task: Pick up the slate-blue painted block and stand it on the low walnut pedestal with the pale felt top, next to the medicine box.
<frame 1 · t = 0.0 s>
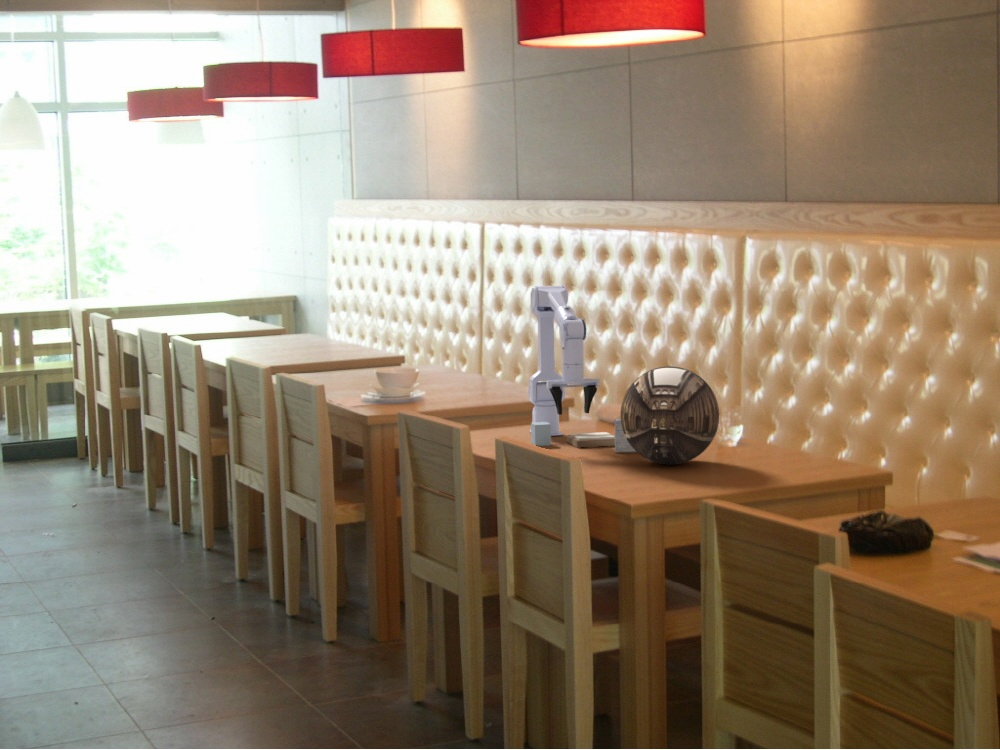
hand: (573, 413, 352), 10 cm above the table, tool pointing down, fingers open, 7 cm apart
medicine box: (629, 452, 350), on the table
block: (541, 444, 363), on the table
sphere: (669, 464, 332), on the table
pedestal: (593, 444, 362), on the table
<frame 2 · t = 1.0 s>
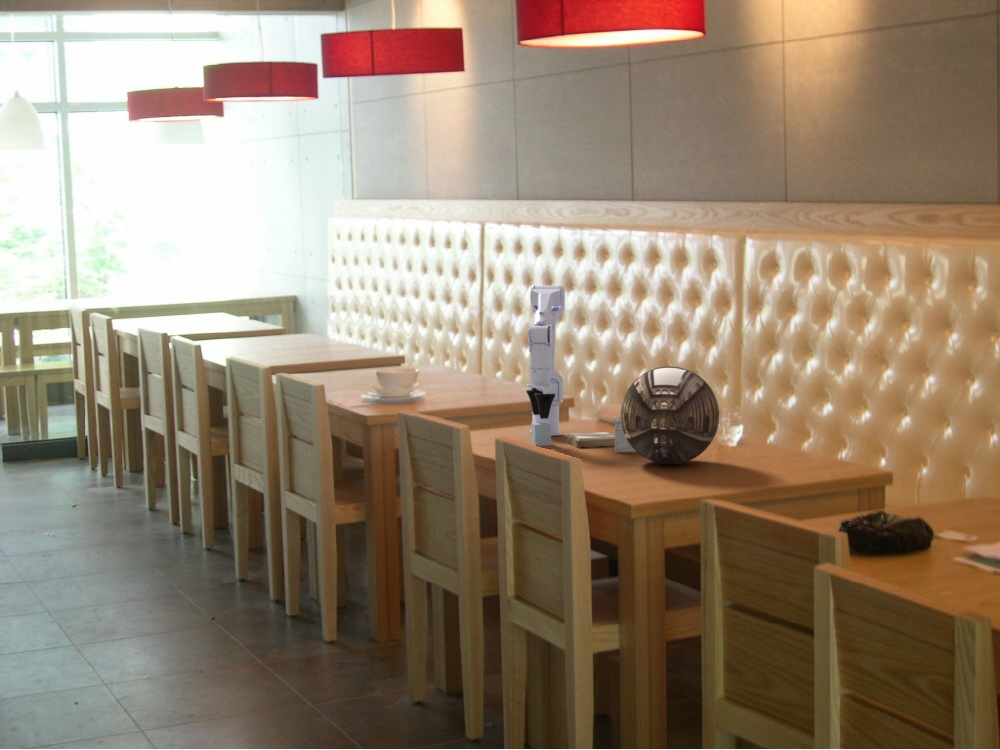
hand: (540, 416, 362), 8 cm above the table, tool pointing down, fingers open, 7 cm apart
nothing on the table moved.
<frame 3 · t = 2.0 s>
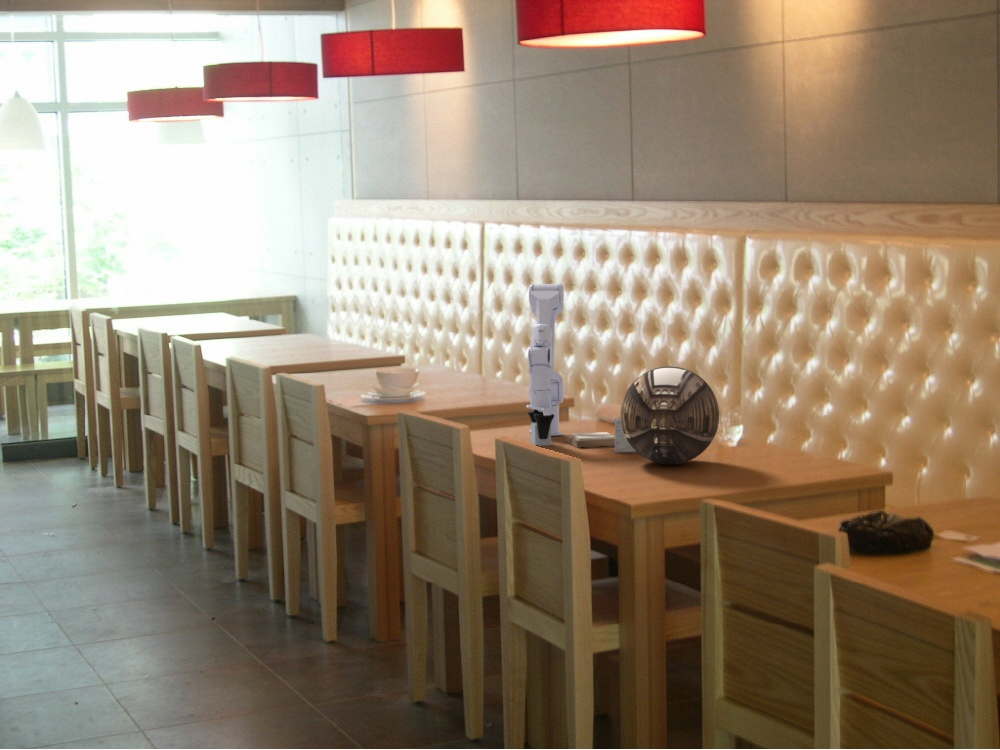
hand: (540, 437, 363), 2 cm above the table, tool pointing down, fingers closed on block, 4 cm apart
block: (541, 444, 363), on the table, touching gripper
everything else where it was.
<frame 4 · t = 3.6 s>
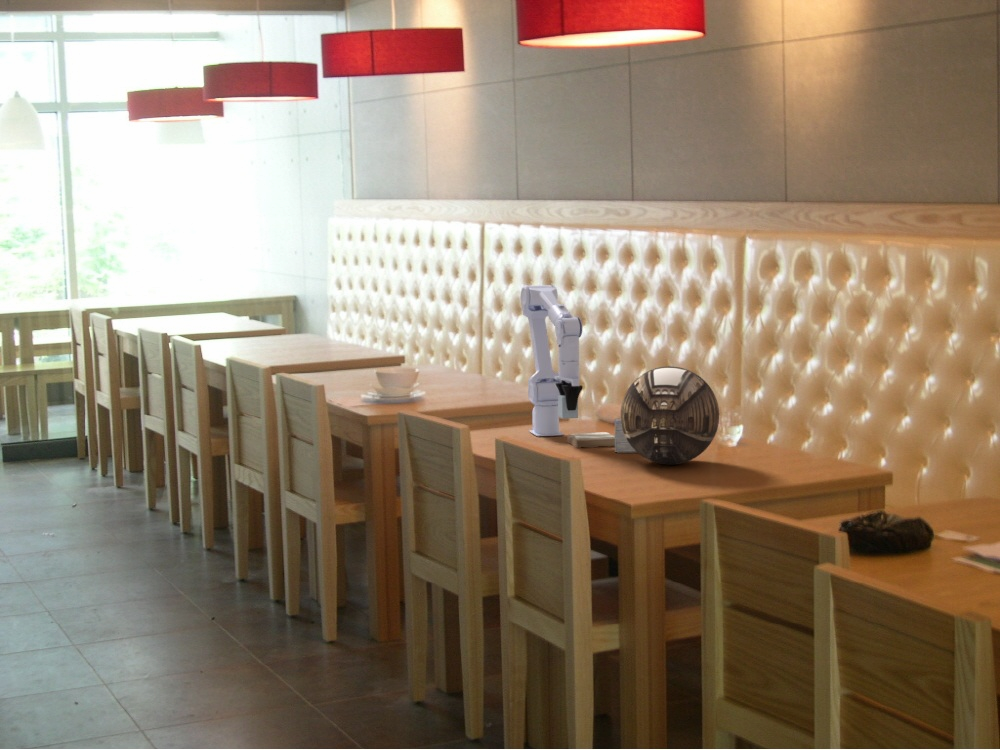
hand: (569, 409, 361), 10 cm above the table, tool pointing down, fingers closed on block, 4 cm apart
block: (568, 417, 362), point 8 cm above the table, touching gripper
everything else where it was.
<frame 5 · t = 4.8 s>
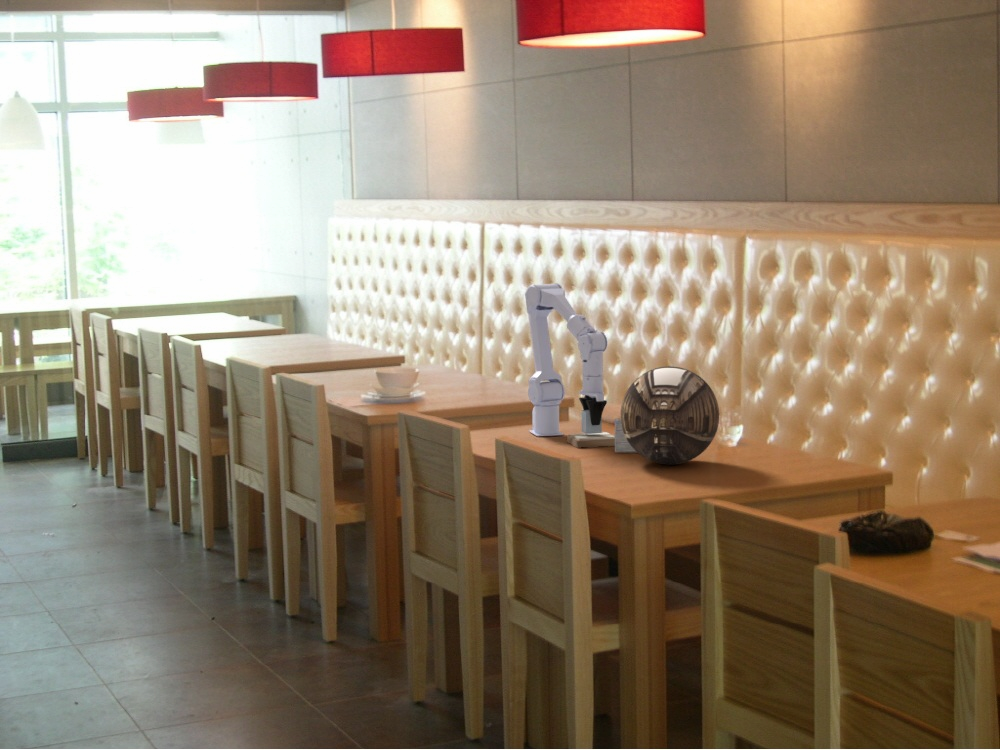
hand: (593, 423, 362), 6 cm above the table, tool pointing down, fingers closed on block, 4 cm apart
block: (591, 432, 362), point 3 cm above the table, touching gripper
everything else where it was.
when the fingers open (5 cm above the table, at t = 5.4 s): block stays where it is, resting on pedestal.
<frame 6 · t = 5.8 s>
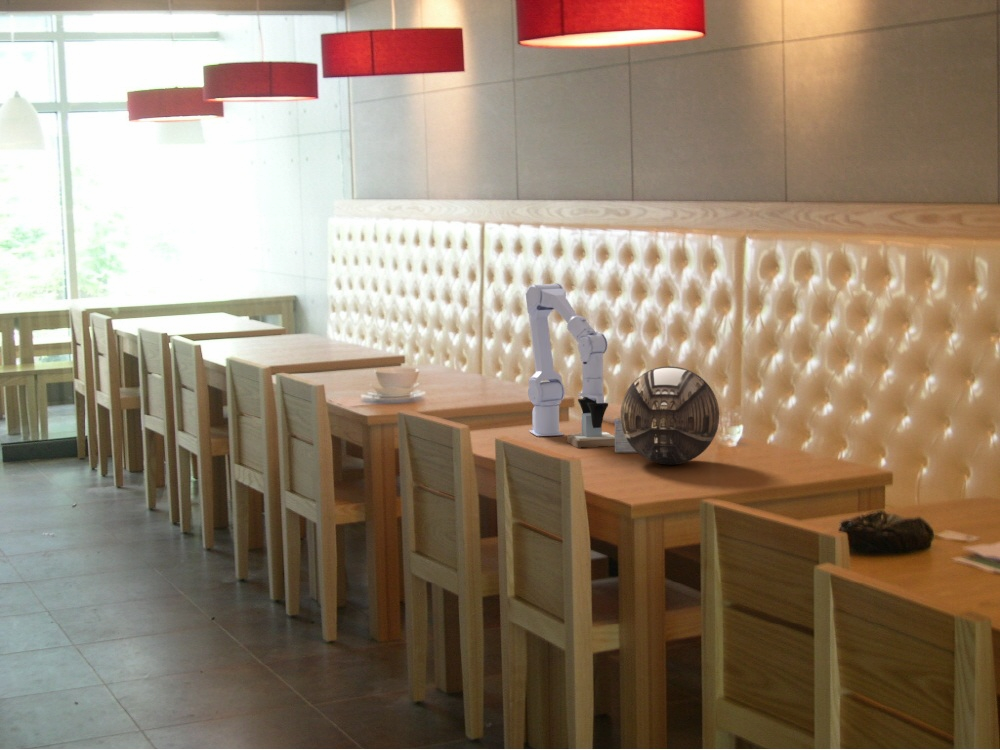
hand: (592, 425, 362), 5 cm above the table, tool pointing down, fingers open, 7 cm apart
block: (591, 435, 362), point 2 cm above the table, touching pedestal
everything else where it was.
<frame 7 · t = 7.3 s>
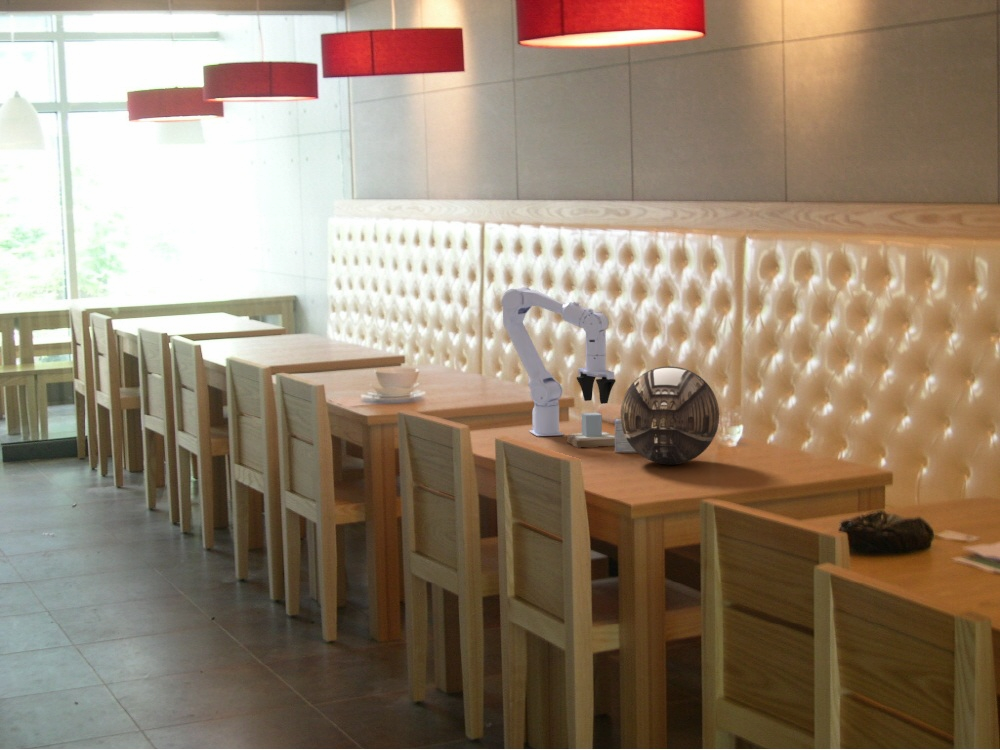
hand: (595, 401, 372), 10 cm above the table, tool pointing down, fingers open, 7 cm apart
nothing on the table moved.
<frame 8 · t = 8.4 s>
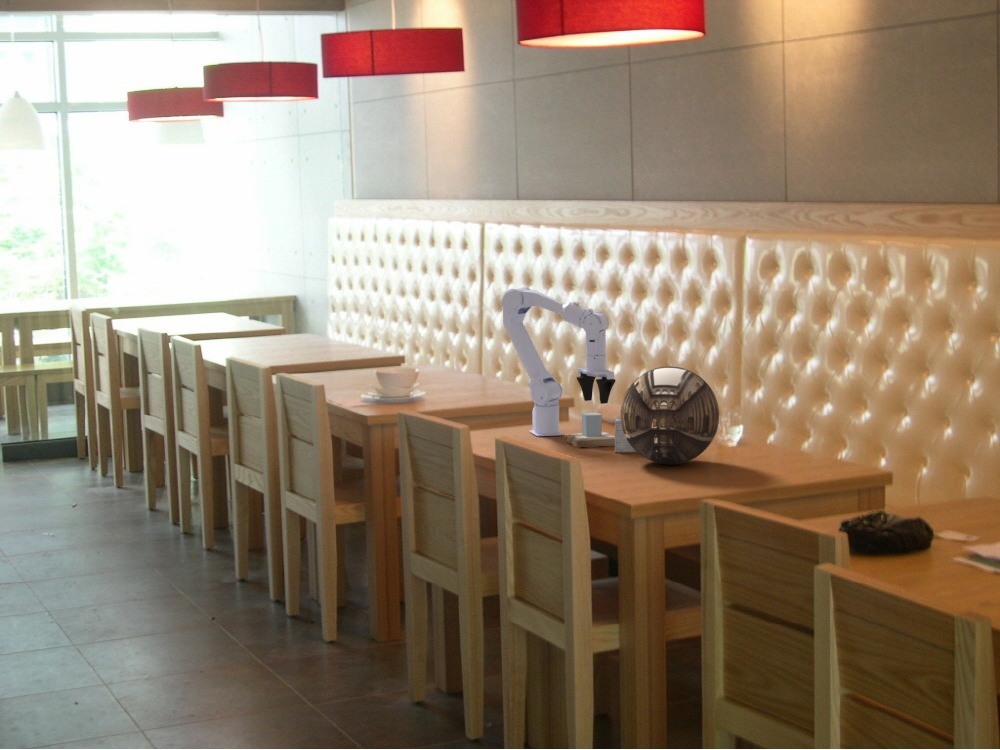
hand: (595, 401, 372), 10 cm above the table, tool pointing down, fingers open, 7 cm apart
nothing on the table moved.
at the end: block 0.4 cm from the pedestal (horizontally); block tilted 0°; block touching pedestal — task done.
